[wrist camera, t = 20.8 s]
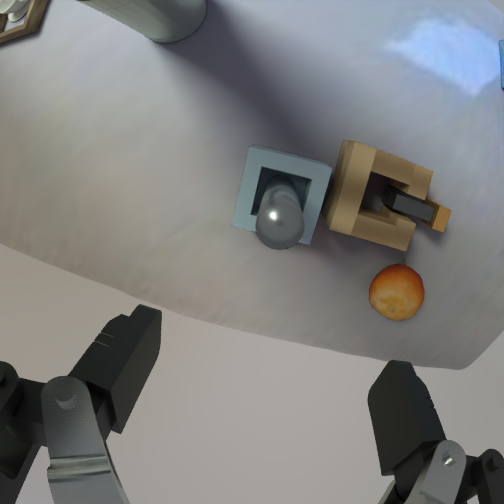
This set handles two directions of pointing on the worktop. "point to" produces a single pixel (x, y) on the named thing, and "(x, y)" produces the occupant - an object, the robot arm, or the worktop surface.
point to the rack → (281, 163)
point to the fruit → (397, 292)
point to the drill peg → (280, 214)
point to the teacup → (14, 8)
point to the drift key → (419, 208)
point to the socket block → (353, 187)
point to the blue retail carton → (502, 61)
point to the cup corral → (29, 24)
